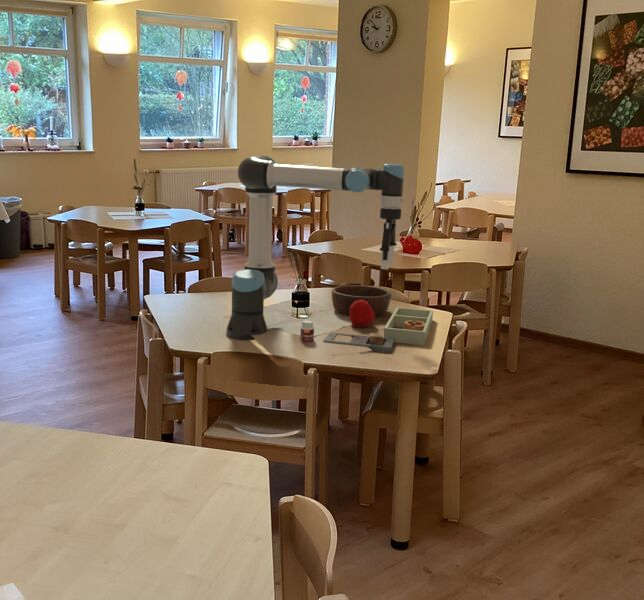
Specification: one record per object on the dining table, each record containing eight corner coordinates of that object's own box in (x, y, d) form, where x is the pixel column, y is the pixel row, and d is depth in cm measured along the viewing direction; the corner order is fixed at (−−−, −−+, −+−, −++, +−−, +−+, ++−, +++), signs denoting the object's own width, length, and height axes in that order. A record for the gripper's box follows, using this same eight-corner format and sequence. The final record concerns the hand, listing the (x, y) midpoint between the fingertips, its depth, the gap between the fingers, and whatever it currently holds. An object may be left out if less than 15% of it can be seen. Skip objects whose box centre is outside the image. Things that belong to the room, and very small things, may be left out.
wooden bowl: (401, 318, 314) (403, 294, 312) (354, 324, 300) (355, 299, 298) (365, 305, 334) (366, 283, 332) (319, 311, 320) (320, 287, 318)
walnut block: (369, 348, 266) (370, 336, 265) (369, 345, 270) (370, 332, 270) (382, 349, 266) (383, 336, 265) (381, 345, 270) (382, 333, 269)
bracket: (423, 344, 285) (424, 327, 283) (401, 342, 286) (403, 324, 285) (427, 332, 302) (429, 316, 300) (407, 330, 303) (408, 313, 302)
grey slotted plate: (323, 345, 266) (323, 340, 266) (330, 337, 278) (330, 332, 277) (390, 352, 261) (390, 347, 261) (394, 344, 273) (395, 338, 272)
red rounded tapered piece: (341, 303, 295) (348, 328, 298) (353, 307, 287) (359, 333, 290) (363, 294, 299) (369, 319, 302) (374, 298, 290) (381, 324, 293)
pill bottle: (303, 346, 264) (304, 323, 262) (298, 343, 269) (298, 320, 267) (315, 345, 266) (316, 322, 264) (310, 342, 270) (311, 319, 269)
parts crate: (383, 341, 276) (384, 328, 275) (395, 318, 311) (396, 307, 310) (424, 345, 273) (425, 332, 272) (432, 322, 308) (433, 310, 307)
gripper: (397, 211, 256) (393, 272, 261) (405, 205, 280) (401, 261, 285) (375, 209, 258) (371, 270, 262) (385, 204, 282) (381, 260, 286)
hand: (387, 266), depth 274 cm, fingers open, 13 cm apart
